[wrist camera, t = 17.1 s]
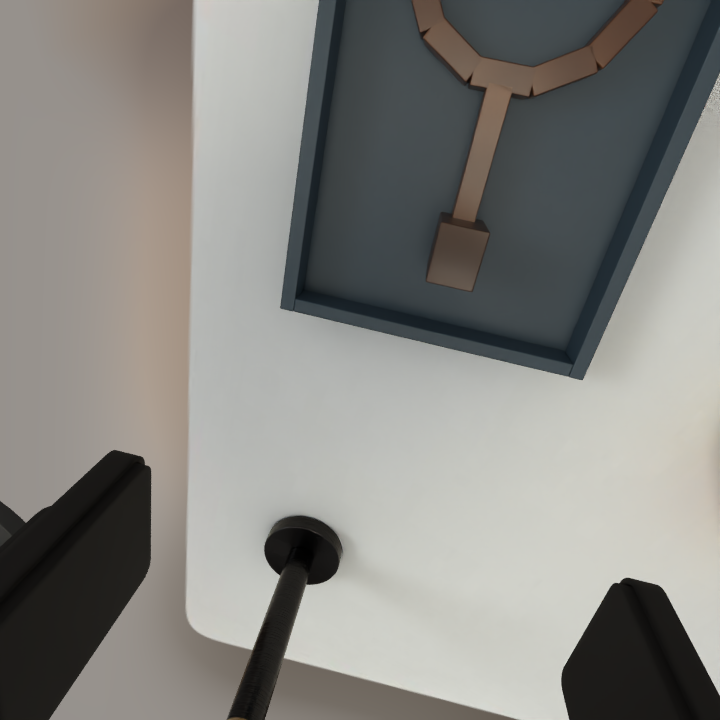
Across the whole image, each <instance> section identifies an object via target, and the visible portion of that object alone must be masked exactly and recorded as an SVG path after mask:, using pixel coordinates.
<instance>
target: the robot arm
mask: <svg viewBox="0 0 720 720" xmlns="http://www.w3.org/2000/svg"><path fill="white" fill-rule="evenodd" d="M150 560H151V468H150V467H149V466H146V465H145V462H144V459H143V457H141V456H137V455H133V454H129V453H124V452H121V451H117V450H113V451H111V452H109V453H108V454H107V455H106V456H105V457H104V458H102V460H100V461H99V462H98V463H97V464H96V465H95V466H94V467H93V468H92V469H91V470H90V471H88V473H86V474H85V475H84V476H83V477H82V478H81V479H80V480H79V481H78V482H77V483H76V484H74V485H73V486H72V487H71V488H70V489H69V490H68V491H67V492H66V493H65V494H64V495H63V496H62V497H60V498H59V499H58V500H57V501H56V502H55V503H54V504H53V505H52V506H49V507H47V508H44V509H42V510H41V511H40V512H38V513H37V514H36V515H34V516H33V517H32V518H31V519H30V520H29V521H28V522H27V523H26V524H24V525H23V526H22V527H21V528H20V529H19V530H18V531H17V532H16V533H15V534H13V535H12V536H11V537H10V538H9V539H8V540H7V541H6V542H5V543H4V544H3V545H1V546H0V720H49V719H50V717H51V716H52V714H53V713H54V711H55V710H56V708H57V707H58V705H59V704H60V702H61V701H62V699H63V698H64V696H65V695H66V693H67V692H68V691H69V689H70V688H71V686H72V685H73V683H74V682H75V680H76V679H77V677H78V676H79V674H80V673H81V671H82V670H83V668H84V667H85V665H86V664H87V663H88V661H89V659H90V658H91V656H92V655H93V654H94V652H95V651H96V649H97V648H98V646H99V645H100V643H101V642H102V640H103V639H104V637H105V636H106V634H107V633H108V631H109V630H110V628H111V626H112V625H113V624H114V623H115V621H116V619H117V618H118V616H119V615H120V614H121V612H122V610H123V609H124V608H125V606H126V605H127V603H128V602H129V600H130V599H131V597H132V596H133V594H134V593H135V591H136V590H137V589H138V587H139V586H140V584H141V583H142V581H143V580H144V578H145V576H146V574H147V572H148V569H149V566H150ZM561 683H562V691H563V695H564V699H565V703H566V707H567V712H568V716H569V720H720V695H719V694H718V692H717V690H716V688H715V686H714V684H713V682H712V680H711V678H710V676H709V675H708V673H707V671H706V669H705V667H704V665H703V663H702V661H701V659H700V657H699V656H698V654H697V652H696V650H695V648H694V646H693V644H692V642H691V640H690V638H689V637H688V635H687V633H686V631H685V629H684V627H683V625H682V623H681V621H680V619H679V618H678V616H677V614H676V612H675V610H674V608H673V606H672V604H671V602H670V600H669V599H668V597H667V595H666V593H665V592H664V590H663V589H662V588H661V587H660V586H658V585H655V584H651V583H647V582H643V581H639V580H635V579H631V578H625V579H623V580H622V581H621V582H620V583H614V584H613V585H612V586H611V587H610V589H609V591H608V592H607V594H606V596H605V597H604V599H603V601H602V603H601V604H600V606H599V608H598V609H597V611H596V613H595V615H594V616H593V618H592V620H591V622H590V623H589V625H588V627H587V628H586V630H585V632H584V634H583V635H582V637H581V639H580V640H579V642H578V644H577V646H576V647H575V649H574V651H573V652H572V654H571V656H570V658H569V659H568V661H567V663H566V665H565V666H564V668H563V671H562V678H561Z"/></svg>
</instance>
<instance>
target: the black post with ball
mask: <svg viewBox="0 0 720 720" xmlns="http://www.w3.org/2000/svg"><path fill="white" fill-rule="evenodd" d="M264 552H265V557H266V559H267V562H268V563H269V565H270V566H271V568H272V569H273V570H274V571H275V572H276V573H278V574H279V575H280V578H279V581H278V583H277V586H276V589H275V591H274V594H273V597H272V600H271V602H270V605H269V608H268V610H267V613H266V616H265V618H264V621H263V624H262V626H261V629H260V632H259V634H258V637H257V640H256V642H255V645H254V648H253V650H252V653H251V656H250V659H249V662H248V664H247V667H246V669H245V672H244V675H243V677H242V680H241V683H240V685H239V688H238V691H237V693H236V696H235V699H234V701H233V705H232V707H231V709H230V712H229V715H228V718H227V720H265V717H266V713H267V710H268V707H269V704H270V700H271V697H272V694H273V691H274V687H275V684H276V681H277V678H278V674H279V671H280V668H281V665H282V661H283V658H284V655H285V652H286V648H287V645H288V642H289V639H290V635H291V632H292V629H293V626H294V622H295V619H296V616H297V613H298V609H299V606H300V603H301V599H302V596H303V593H304V590H305V586H306V585H313V584H319V583H323V582H325V581H327V580H329V579H330V578H331V577H332V576H333V575H334V574H335V573H336V571H337V570H338V567H339V563H340V559H341V554H342V548H341V544H340V541H339V539H338V537H337V536H336V534H335V533H334V532H333V531H332V530H331V529H330V528H329V527H328V526H326V525H325V524H324V523H322V522H320V521H318V520H315V519H312V518H308V517H302V516H295V517H288V518H285V519H283V520H281V521H279V522H278V523H276V524H275V525H274V526H273V528H272V529H271V531H270V533H269V535H268V538H267V540H266V542H265V546H264Z"/></svg>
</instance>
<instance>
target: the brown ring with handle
mask: <svg viewBox="0 0 720 720" xmlns="http://www.w3.org/2000/svg"><path fill="white" fill-rule="evenodd" d="M411 2H412V6H413V10H414V14H415V18H416V22H417V26H418V30H419V34H420V38H421V39H423V41H424V45H425V46H426V47H427V48H428V49H429V50H430V51H431V53H432V54H433V55H434V56H435V57H436V58H437V59H438V60H439V61H440V62H441V63H442V64H443V65H444V66H445V67H446V68H447V69H448V70H449V71H450V72H451V73H452V74H453V75H454V76H455V77H456V78H457V79H458V81H459V82H460V83H461V84H462V85H464V86H465V85H466V84H467V83H468V82H469V80H470V82H469V86H468V88H469V89H472V90H477V91H482V92H484V93H483V97H482V100H481V104H480V108H479V112H478V116H477V119H476V123H475V127H474V131H473V134H472V138H471V142H470V146H469V150H468V153H467V157H466V161H465V165H464V168H463V172H462V176H461V180H460V183H459V187H458V191H457V195H456V199H455V202H454V206H453V210H452V214H451V213H446V212H441V213H440V216H439V220H438V224H437V228H436V232H435V236H434V240H433V243H432V247H431V251H430V255H429V259H428V263H427V272H426V282H428V283H432V284H437V285H441V286H445V287H450V288H454V289H459V290H463V291H467V292H473V289H474V286H475V283H476V279H477V276H478V273H479V270H480V266H481V263H482V260H483V256H484V253H485V250H486V247H487V243H488V240H489V237H490V232H489V230H488V228H487V226H486V225H485V223H484V221H483V220H478V219H476V217H477V214H478V210H479V207H480V203H481V200H482V196H483V193H484V189H485V186H486V182H487V179H488V175H489V172H490V168H491V165H492V161H493V158H494V155H495V151H496V148H497V144H498V141H499V137H500V134H501V130H502V127H503V123H504V120H505V116H506V113H507V109H508V106H509V102H510V99H511V98H516V99H521V100H524V99H526V98H528V99H531V98H534V97H537V96H540V95H542V94H545V93H548V92H550V91H553V90H556V89H558V88H561V87H564V86H566V85H569V84H572V83H574V82H577V81H580V80H582V79H585V78H588V77H590V76H592V75H594V74H596V73H598V71H599V70H601V69H603V68H605V67H606V66H607V65H608V63H609V62H610V61H611V60H612V59H613V58H614V57H615V56H616V55H617V54H618V53H619V52H620V51H621V50H622V49H623V48H624V47H625V46H626V45H627V44H628V43H629V41H630V40H631V39H632V38H633V37H634V36H635V35H636V34H637V33H638V32H639V31H640V30H641V29H642V28H643V27H644V26H645V25H646V24H647V23H648V22H649V21H650V19H651V18H652V17H653V16H654V15H655V14H656V13H657V11H658V10H657V8H658V7H659V6H661V5H662V4H663V2H664V0H625V1H624V3H623V5H622V6H621V7H620V8H619V9H618V10H617V11H616V12H615V13H614V14H613V15H612V17H611V18H610V19H609V20H608V21H607V22H606V23H605V24H604V25H603V26H602V27H601V29H600V30H599V31H598V32H597V33H596V34H595V35H594V36H593V37H592V38H591V39H590V41H589V42H588V43H587V44H586V45H585V46H584V47H582V48H580V49H577V50H575V51H572V52H569V53H567V54H564V55H562V56H559V57H557V58H554V59H551V60H549V61H546V62H544V63H541V64H539V65H536V66H528V65H523V64H518V63H513V62H508V61H503V60H498V59H493V58H488V57H483V56H481V55H480V54H479V53H478V52H477V51H476V50H475V49H474V48H473V47H472V46H471V45H470V43H469V42H468V41H467V40H466V39H465V38H464V37H463V36H462V35H461V34H460V33H459V32H458V31H457V30H456V29H455V28H454V27H453V25H452V24H451V23H450V22H449V21H448V20H447V19H446V18H445V17H444V13H443V8H442V4H441V0H411Z"/></svg>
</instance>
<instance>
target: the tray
mask: <svg viewBox="0 0 720 720" xmlns="http://www.w3.org/2000/svg"><path fill="white" fill-rule="evenodd" d="M624 1H625V0H441V4H442V8H443V13H444V17H445V18H446V19H447V20H448V21H449V22H450V23H451V24H452V25H453V27H454V28H455V29H456V30H457V31H458V32H459V33H460V34H461V35H462V36H463V37H464V38H465V39H466V40H467V41H468V42H469V43H470V45H471V46H472V47H473V48H474V49H475V50H476V51H477V52H478V53H479V54H480V55H481V56H483V57H488V58H493V59H498V60H503V61H508V62H513V63H518V64H523V65H528V66H536V65H539V64H541V63H544V62H546V61H549V60H551V59H554V58H557V57H559V56H562V55H564V54H567V53H569V52H572V51H575V50H577V49H580V48H582V47H584V46H585V45H586V44H587V43H588V42H589V41H590V39H591V38H592V37H593V36H594V35H595V34H596V33H597V32H598V31H599V30H600V29H601V27H602V26H603V25H604V24H605V23H606V22H607V21H608V20H609V19H610V18H611V17H612V15H613V14H614V13H615V12H616V11H617V10H618V9H619V8H620V7H621V6H622V5H623V3H624ZM657 10H658V11H657V13H656V14H655V15H654V16H653V17H652V18H651V19H650V21H649V22H648V23H647V24H646V25H645V26H644V27H643V28H642V29H641V30H640V31H639V32H638V33H637V34H636V35H635V36H634V37H633V38H632V39H631V40H630V41H629V43H628V44H627V45H626V46H625V47H624V48H623V49H622V50H621V51H620V52H619V53H618V54H617V55H616V56H615V57H614V58H613V59H612V60H611V61H610V62H609V63H608V65H607V66H606V67H605V68H603V69H601V70H599V71H598V73H596V74H594V75H592V76H590V77H588V78H585V79H582V80H580V81H577V82H574V83H572V84H569V85H566V86H564V87H561V88H558V89H556V90H553V91H550V92H548V93H545V94H542V95H540V96H537V97H534V98H531V99H528V98H526V99H524V100H521V99H516V98H511V99H510V102H509V106H508V109H507V113H506V116H505V120H504V123H503V127H502V130H501V134H500V137H499V141H498V144H497V148H496V151H495V155H494V158H493V161H492V165H491V168H490V172H489V175H488V179H487V182H486V186H485V189H484V193H483V196H482V200H481V203H480V207H479V210H478V214H477V217H476V219H478V220H483V221H484V223H485V225H486V226H487V228H488V230H489V232H490V237H489V240H488V243H487V247H486V250H485V253H484V256H483V260H482V263H481V266H480V270H479V273H478V276H477V279H476V283H475V286H474V289H473V292H467V291H463V290H459V289H454V288H450V287H445V286H441V285H437V284H432V283H428V282H426V272H427V263H428V259H429V255H430V251H431V247H432V243H433V240H434V236H435V232H436V228H437V224H438V220H439V216H440V213H441V212H446V213H451V214H452V210H453V206H454V202H455V199H456V195H457V191H458V187H459V183H460V180H461V176H462V172H463V168H464V165H465V161H466V157H467V153H468V150H469V146H470V142H471V138H472V134H473V131H474V127H475V123H476V119H477V116H478V112H479V108H480V104H481V100H482V97H483V93H484V92H482V91H477V90H472V89H469V88H468V86H469V82H470V80H469V82H468V83H467V84H466V85H465V86H464V85H462V84H461V83H460V82H459V81H458V79H457V78H456V77H455V76H454V75H453V74H452V73H451V72H450V71H449V70H448V69H447V68H446V67H445V66H444V65H443V64H442V63H441V62H440V61H439V60H438V59H437V58H436V57H435V56H434V55H433V54H432V53H431V51H430V50H429V49H428V48H427V47H426V46H425V45H424V41H423V39H421V38H420V34H419V30H418V26H417V22H416V18H415V14H414V10H413V6H412V2H411V0H319V6H318V13H317V21H316V29H315V37H314V45H313V53H312V61H311V69H310V77H309V85H308V93H307V101H306V108H305V116H304V124H303V132H302V140H301V148H300V156H299V164H298V172H297V180H296V188H295V196H294V203H293V211H292V219H291V227H290V235H289V243H288V251H287V259H286V267H285V275H284V283H283V290H282V298H281V306H280V308H281V309H285V310H289V311H295V312H299V313H303V314H307V315H311V316H316V317H320V318H324V319H328V320H332V321H337V322H341V323H345V324H349V325H353V326H358V327H362V328H366V329H370V330H374V331H379V332H383V333H387V334H391V335H395V336H400V337H404V338H408V339H412V340H416V341H421V342H425V343H429V344H433V345H437V346H442V347H446V348H450V349H454V350H458V351H463V352H467V353H471V354H475V355H479V356H484V357H488V358H492V359H496V360H500V361H505V362H509V363H513V364H517V365H522V366H526V367H530V368H534V369H538V370H543V371H547V372H551V373H555V374H559V375H564V376H569V377H571V378H575V379H579V380H583V378H584V376H585V374H586V372H587V369H588V367H589V365H590V363H591V360H592V358H593V356H594V354H595V351H596V349H597V347H598V345H599V342H600V340H601V338H602V336H603V333H604V331H605V329H606V327H607V324H608V322H609V320H610V318H611V315H612V313H613V311H614V309H615V306H616V304H617V302H618V300H619V297H620V295H621V293H622V291H623V288H624V286H625V284H626V282H627V280H628V277H629V275H630V273H631V271H632V268H633V266H634V264H635V262H636V259H637V257H638V255H639V253H640V250H641V248H642V246H643V244H644V241H645V239H646V237H647V235H648V232H649V230H650V228H651V226H652V223H653V221H654V219H655V217H656V214H657V212H658V210H659V208H660V205H661V203H662V201H663V199H664V196H665V194H666V192H667V190H668V188H669V185H670V183H671V181H672V179H673V176H674V174H675V172H676V170H677V167H678V165H679V163H680V161H681V158H682V156H683V154H684V152H685V149H686V147H687V145H688V143H689V140H690V138H691V136H692V134H693V131H694V129H695V127H696V125H697V122H698V120H699V118H700V116H701V113H702V111H703V109H704V107H705V104H706V102H707V100H708V98H709V96H710V93H711V91H712V89H713V87H714V84H715V82H716V80H717V78H718V75H719V73H720V0H664V2H663V4H662V5H661V6H659V7H658V8H657Z"/></svg>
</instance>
